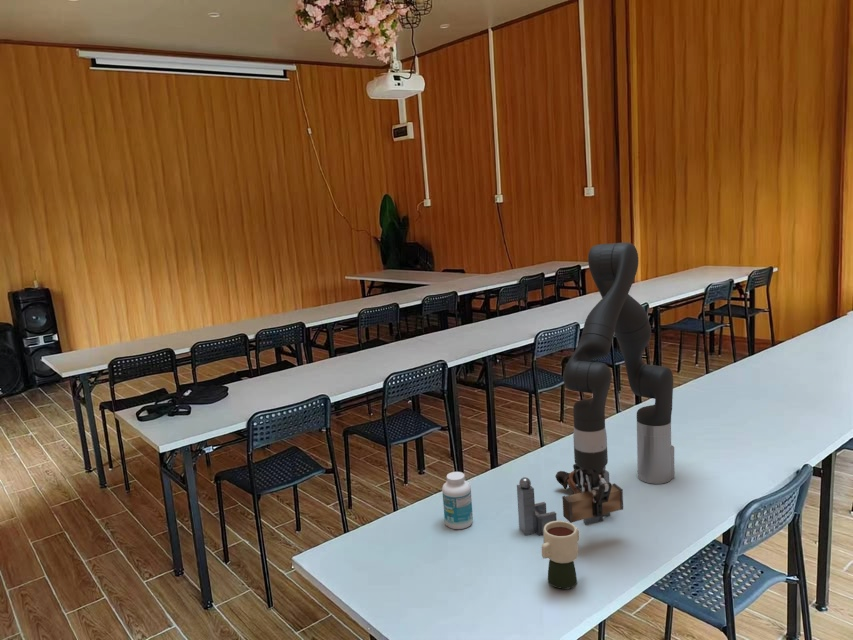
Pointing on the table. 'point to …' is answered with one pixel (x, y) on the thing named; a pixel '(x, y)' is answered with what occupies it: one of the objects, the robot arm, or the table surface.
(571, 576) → the character mug
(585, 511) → the walnut rail
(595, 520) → the ball knob clevis bracket
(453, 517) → the pill bottle
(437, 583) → the table surface
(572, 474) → the broken pottery vessel
